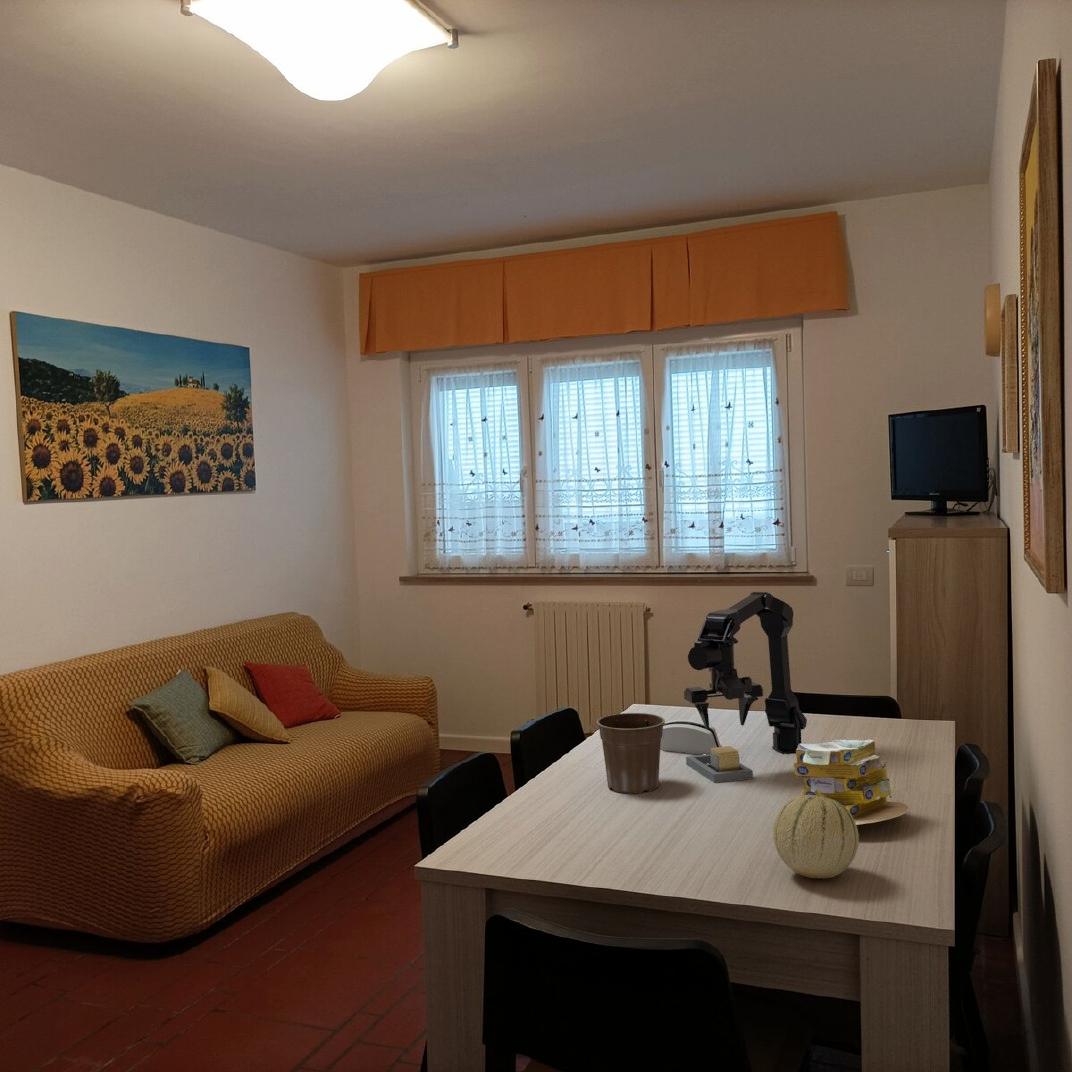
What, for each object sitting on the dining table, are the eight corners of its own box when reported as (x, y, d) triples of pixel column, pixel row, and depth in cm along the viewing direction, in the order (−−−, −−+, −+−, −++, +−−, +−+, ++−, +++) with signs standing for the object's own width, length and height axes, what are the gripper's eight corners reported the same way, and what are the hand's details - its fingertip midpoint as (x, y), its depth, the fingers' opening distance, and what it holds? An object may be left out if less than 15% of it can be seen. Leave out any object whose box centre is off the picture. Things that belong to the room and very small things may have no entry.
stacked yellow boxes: (760, 817, 219) (757, 739, 218) (844, 796, 231) (842, 722, 230) (848, 849, 197) (845, 763, 196) (935, 824, 209) (933, 743, 209)
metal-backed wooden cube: (732, 771, 254) (731, 745, 254) (740, 777, 249) (739, 750, 249) (710, 774, 253) (709, 748, 253) (718, 779, 248) (717, 753, 248)
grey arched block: (724, 751, 274) (718, 719, 271) (718, 761, 270) (712, 729, 267) (666, 745, 282) (660, 714, 279) (660, 755, 279) (653, 724, 275)
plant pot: (664, 797, 235) (661, 728, 235) (594, 796, 238) (592, 727, 238) (669, 777, 251) (667, 712, 250) (604, 777, 254) (601, 712, 254)
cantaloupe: (778, 891, 178) (775, 805, 178) (772, 860, 193) (769, 781, 192) (866, 892, 176) (863, 806, 175) (853, 861, 190) (851, 782, 190)
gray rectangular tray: (722, 760, 265) (722, 752, 265) (752, 778, 247) (752, 770, 247) (686, 764, 263) (686, 756, 263) (714, 782, 245) (713, 774, 245)
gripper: (699, 672, 241) (701, 738, 241) (772, 665, 245) (774, 730, 246) (681, 665, 252) (684, 728, 252) (752, 658, 256) (754, 720, 256)
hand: (724, 727), depth 251 cm, fingers open, 9 cm apart
